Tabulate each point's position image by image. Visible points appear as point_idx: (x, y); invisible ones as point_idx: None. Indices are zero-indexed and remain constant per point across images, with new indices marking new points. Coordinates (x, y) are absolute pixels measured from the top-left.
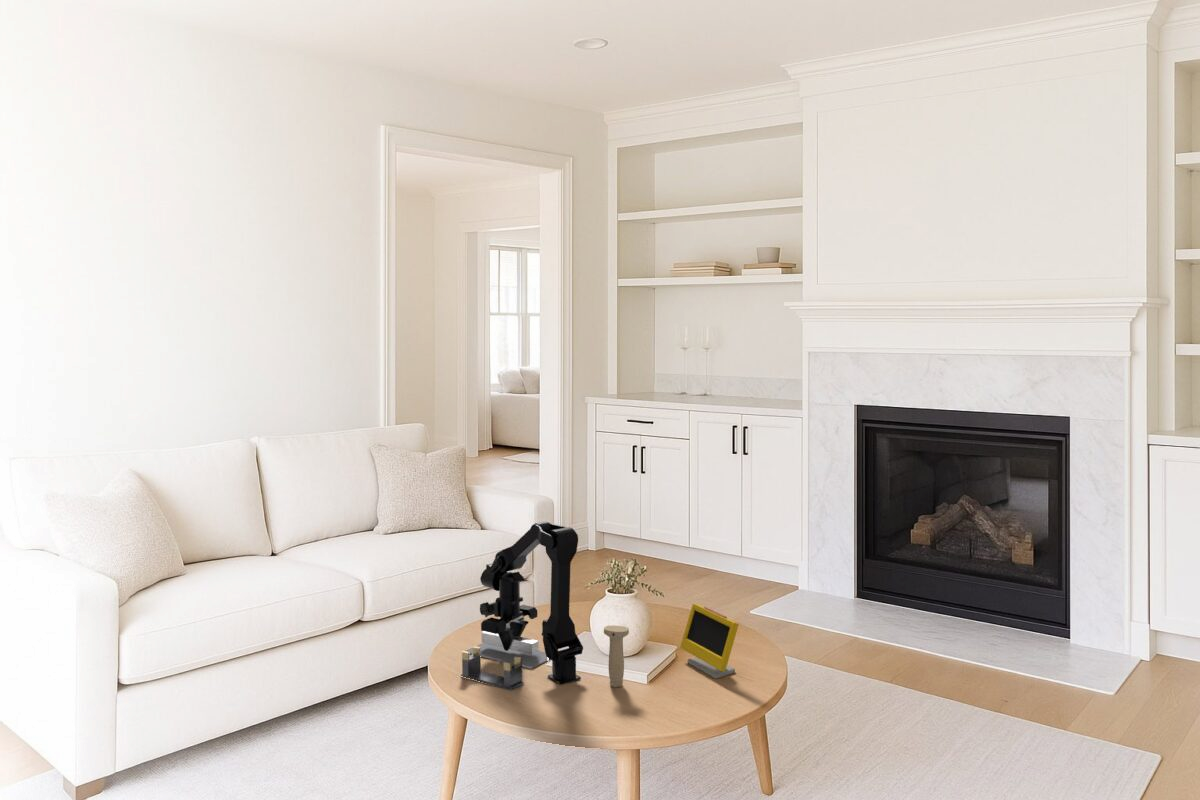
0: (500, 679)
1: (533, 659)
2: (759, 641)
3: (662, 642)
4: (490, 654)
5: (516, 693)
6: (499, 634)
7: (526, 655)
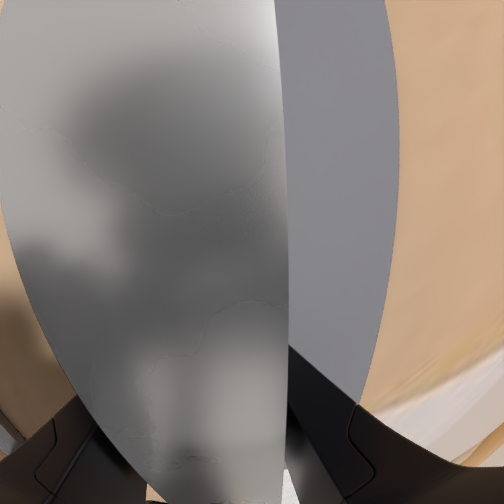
0: (5, 442)
1: None
2: (479, 464)
3: (482, 442)
4: None
5: None
6: (12, 474)
7: None
